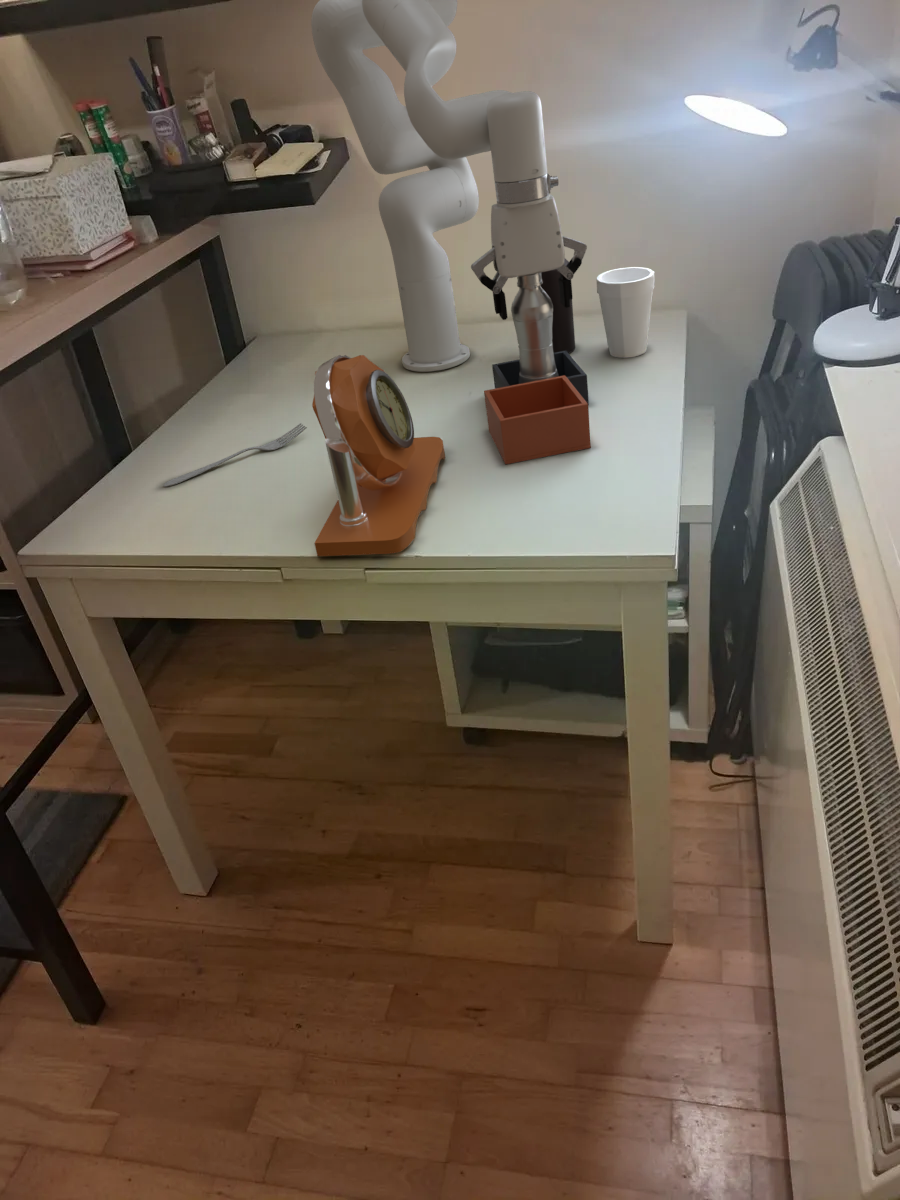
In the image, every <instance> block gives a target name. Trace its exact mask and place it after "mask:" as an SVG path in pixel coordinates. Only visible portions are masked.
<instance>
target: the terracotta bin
mask: <svg viewBox="0 0 900 1200" xmlns="http://www.w3.org/2000/svg"><path fill="white" fill-rule="evenodd" d="M483 396H484V403H485V411H486V420H487V428H488V433H489V435H490V437H491V439H492V441H493V443H494V445H495V447H496V448H497V451H498V453H499V455H500V457H501V458H502V461H503V463H504V464H505V465H511V464H515V463H520V462H526V461H531V460H535V459H541V458H546V457H551V456H556V455H560V454H567V453H571V452H576V451H582V450H587V449H591V447H592V445H591V429H590V428H591V427H590V411H589V406H588V403H587V402H586V401H585V400H584V398H583V397H582V396H581V395H580V393H579V392H578V391H577V390H576V388H575V387H574V386H573V385H572V383H571V382H570V381H569V380H568V378H567V377H566V376H565V375H564V376H559V377H553V378H548V379H543V380H538V381H532V382H527V383H522V384H517V385H511V386H506V387H501V388H496V389H495V388H491V389H486V390H483Z"/></svg>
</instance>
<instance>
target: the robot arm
mask: <svg viewBox="0 0 900 1200" xmlns="http://www.w3.org/2000/svg"><path fill="white" fill-rule="evenodd" d="M457 11H458V0H318V1H317V2H316V4H315V5H314V8H313V9H312V13H311V20H310V21H311V22H310V25H311V34H312V41H313V45H314V48H315V52H316V55H317V58H318V59H319V62H320V64H321V66H322V68H323V69H324V72H325V74H326V76H327V77H328V78H329V80H330V81H331V83H332V84H333V86H334V88H335V89H336V90H337V92H338V94H339V96H340V97H341V99H342V101H343V103H344V106H345V107H346V109H347V113H348V116H349V118H350V120H351V123H352V125H353V127H354V130H355V132H356V135H357V137H358V140H359V142H360V145H361V147H362V149H363V152H364V154H365V156H366V159H367V161H368V163H369V165H370V167H371V168H372V169H373V170H374V172H376V173H377V174H380V175H385V176H386V175H394V174H399V173H403V172H407V171H411V170H414V169H419V168H423V167H427V168H428V170H426V171H420V172H417V173H412V174H409V175H405V176H402V177H399V178H396V179H394V180H392V181H390V182H389V183H387V185H385V186H384V187H383V189H382V190H381V192H380V194H379V196H378V210H379V216H380V218H381V221H382V224H383V228H384V230H385V233H386V236H387V239H388V243H389V246H390V251H391V255H392V261H393V266H394V270H395V276H396V277H395V278H396V282H397V287H398V295H399V301H400V306H401V312H402V318H403V324H404V330H405V337H406V342H407V347H408V352H406V353H405V354H404V355H403V356H402V357H401V363H402V366H403V368H405V369H406V370H408V371H412V372H418V373H419V372H421V373H427V372H438V371H444V370H447V369H452V368H454V367H457V366H459V365H461V364H463V363H465V362H466V361H467V360H468V359H469V358H470V356H471V350H470V347H469V346H467V345H466V344H464V343H461V341H460V333H459V325H458V319H457V309H456V303H455V295H454V288H453V287H454V286H453V281H452V274H451V266H450V261H449V260H450V259H449V257H448V254H447V252H446V251H445V249H444V248H443V246H442V245H440V243H439V242H438V240H437V239H436V238H435V237H434V233H437V232H439V231H441V230H444V229H448V228H451V227H455V226H458V225H462V224H464V223H467V222H469V221H470V220H472V219H473V218H474V217H475V216H476V214H477V212H478V211H479V206H480V196H479V190H478V186H477V185H478V184H477V182H476V179H475V176H474V173H473V170H472V168H471V165H470V163H469V161H468V157H471V156H475V155H478V154H482V153H489V152H490V156H491V164H492V173H493V181H494V189H495V197H496V203H493V204H492V205H491V209H490V210H491V211H490V238H491V239H490V240H491V242H490V243H491V248H490V249H489V250H487V251H486V252H485V253H484V254H483V255H481V256H480V257H479V258H478V259H476V260H475V261H474V262H473V263H471V265H470V269H471V271H472V272H473V273H474V275H475V276H476V278H477V279H478V280H479V282H480V283H481V284H482V285H483V286H484V287H486V288H487V289H488V290H489V291H491V292H492V297H493V307H494V312H495V314H496V315H499V317H500V318H501V320H502V321H506V320H507V319H508V309H507V302H506V301H507V299H506V293H505V292H504V291H503V288H504V286H505V285H506V283H507V282H508V279H513V278H514V279H515V278H517V277H519V276H525V275H530V274H535V273H540V272H545V271H550V270H554V269H557V270H558V271H559V272H560V273H561V274H560V277H559V278H558V281H559V293H560V302H561V304H562V305H563V306H564V307H566V308H567V307H570V301H569V300H571V299H572V300H573V285H572V279H573V278H574V276H575V274H576V273H577V271H578V270H579V269H580V267H581V265H582V264H583V262H582V261H583V259H584V257H585V255H586V252H587V249H588V245H587V244H585V242H583V241H579V240H576V239H573V238H571V237H568V236H565V235H563V232H562V231H563V230H562V225H561V220H560V214H559V209H558V206H557V203H556V200H555V196H554V195H553V194H551V190H552V189H553V188H554V187H558V186H559V177H558V175H550V174H549V173H548V163H547V152H546V143H545V142H546V140H545V130H544V118H543V117H544V116H543V107H542V101H541V97H540V96H539V94H538V93H537V92H534V91H529V90H528V91H526V90H525V91H516V92H511V91H508V90H504V89H496V90H490V91H485V92H481V93H475V94H469V95H465V96H462V97H456V98H453V99H449V100H444V99H443V98H442V97H440V94H438V93H437V91H436V90H435V89H434V87H433V86H435V85H436V84H437V83H438V82H439V81H441V79H442V78H444V77H445V75H446V74H447V73H448V72H449V71H450V69H451V67H452V66H453V63H454V61H455V58H456V56H457V55H456V54H457V46H458V45H457V41H456V37H455V35H454V34H453V32H452V30H451V29H450V28H449V26H451V24H452V23H453V22H454V19H455V17H456V14H457ZM380 47H386V48H387V50H388V51H389V53H390V54H391V55H392V56H393V57H394V58H395V60H396V61H397V63H398V64H399V65H400V66H401V68H402V69H403V71H404V72H405V77H404V83H403V97H404V103H405V105H404V104H402V103H401V101H400V100H399V97H398V95H397V92H396V91H395V87H394V84H393V82H392V80H391V79H390V77H389V75H387V73H386V72H385V71H384V70H383V69H382V68H381V67H380V66H379V65H378V64H377V63H376V62H375V61H373V60H372V59H370V58H369V57H368V56H367V55H366V54H364V52H363V51H364V50H369V49H374V48H380ZM565 248H568V249H570V250H573V256H572V257H571V259H570V260H568V261H569V263H568V264H567V266H565V265H564V261H565V259H566V254H565ZM491 263H492V265H493V268H494V271H496V273H495V274H494V276H493V278H491V277H489V276H488V275H487V274H486V273H485V268H486V267H487V266H489V264H491Z"/></svg>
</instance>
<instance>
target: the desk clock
mask: <svg viewBox="0 0 900 1200" xmlns="http://www.w3.org/2000/svg"><path fill="white" fill-rule="evenodd" d="M311 406H312V410H313V412H314V414H315V416H316V418H317V422H318V424H319V426H320V429H321V431H322V433H323V435H324V436H323V437H324V443H325V447H326V451H327V455H328V461H329V465H330V469H331V473H332V477H333V482H334V483H333V484H334V487H335V491H336V496H337V501H336V502H335V504H334V506H333V508H332V511H331V512H330V513H329V515H328V518H327V519H326V521H325V523H324V524H323V526H322V528H321V530H320V532H319V533H318V535H317V537H316V538H315V541H314V548H315V551H316V556H317V557H330V556H331V557H335V556H337V557H338V556H361V555H362V556H365V555H367V556H368V555H389V554H396V553H401V552H403V551H405V550H406V549H407V548H408V547H409V546H410V545H411V543H412V542H413V541H414V540H415V539H416V531H417V524H418V519H419V516H420V514H421V512H425V511H426V510H427V505H428V495H429V492H430V488H431V486H432V485H434V484H437V481H438V471H439V466H440V463H441V461H442V460H445V459H446V453H445V446H444V440H443V439H442V438H441V437H439V436H421V437H420V436H419V437H418V436H417V437H415V428H414V422H413V418H412V413H411V410H410V408H409V406H408V403H407V401H406V399H405V397H404V395H403V393H402V391H401V389H400V388H399V386H398V385H397V383H396V381H394V380H393V378H392V377H391V376H390V375H389V374H388V373H387V372H386V371H385V370H384V369H383V368H381V367H379V366H378V365H376V364H375V363H374V362H372V361H371V360H370V359H368V357H366V356H365V355H364V354H359V355H357V356H354V357H350V356H348V355H346V354H345V355H341V354H339V355H335V356H333V357H331V358H330V359H328V360H326V361H324V362H323V363H322V364H321V365H319V366H318V368H317V370H316V371H314V379H313V399H312V404H311Z"/></svg>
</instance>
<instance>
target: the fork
mask: <svg viewBox="0 0 900 1200" xmlns="http://www.w3.org/2000/svg"><path fill="white" fill-rule="evenodd" d="M307 428H308V427H307V426H305V425H304V424H302V422H301V423H299V424H297V425H295V427H293V428H292V429H290V430H289V431H287V432H286V433H284V434H283V435H281V436H279V437H278V438H276V439H273V440H271V441H270V442H268V443H266V444H263V445H258V446H251V447H246V448H245V449H242V450H239V451H237V452H235V453H233V454H231V455H229V456H226V457H224V458H221V459H220V460H217V461H215V462H212V463H210V464H207V465H205V466H203V467H200V468H197V469H195V470H192V471H190V472H186V473H184V474H181V475H179V476H176V477H174V478H171V479H169V480H168V481H165V482H164V483H163V485H162V486H163V487H164V488H169V487H171V486H175V485H179V484H180V483H182V482H185V481H187V480H189V479H191V478H194V477H196V476H198V475H200V474H202V473H206V472H207V471H209V470H212V469H213V468H215V467H218V466H220V465H222V464H224V463H225V462H227V461H230V460H231V459H233V458H235V457H237V456H239V455H241V454H243V453H246V452H248V451H251V450H253V451H254V450H261V451H275V450H278V449H280V448H282V447H284V446H285V445H287V444H288V443H290V442H292V441H293V440H294V439H295V438H296V437H298V436H299V435H301V434H302V433H303V432H304V431H305V430H306V429H307Z"/></svg>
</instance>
